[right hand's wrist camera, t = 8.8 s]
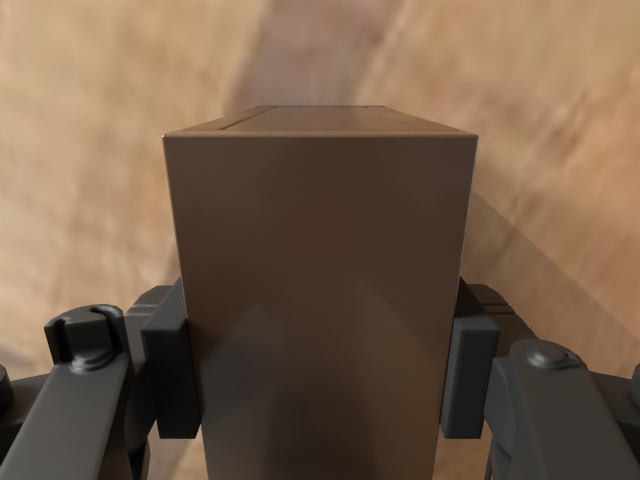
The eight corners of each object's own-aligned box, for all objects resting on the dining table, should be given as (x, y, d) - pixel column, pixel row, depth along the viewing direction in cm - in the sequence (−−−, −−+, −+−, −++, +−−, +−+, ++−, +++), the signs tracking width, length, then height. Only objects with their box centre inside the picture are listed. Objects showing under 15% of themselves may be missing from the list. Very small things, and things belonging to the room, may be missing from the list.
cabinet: (366, 409, 23) (405, 682, 13) (274, 409, 23) (234, 682, 13) (382, 105, 17) (481, 133, 7) (258, 105, 17) (160, 133, 7)
